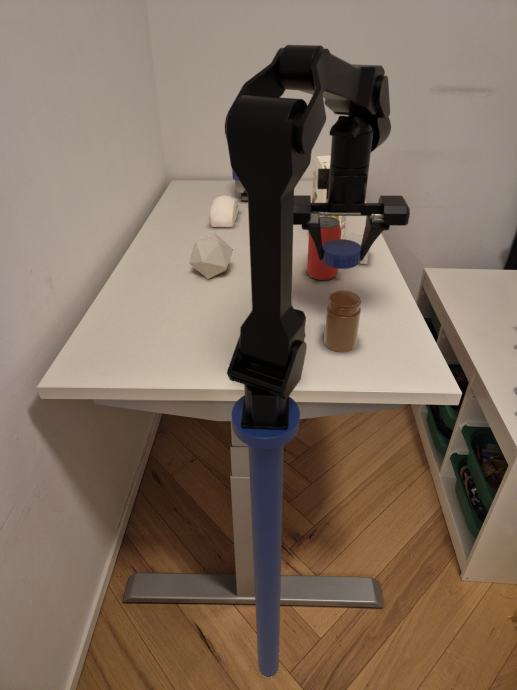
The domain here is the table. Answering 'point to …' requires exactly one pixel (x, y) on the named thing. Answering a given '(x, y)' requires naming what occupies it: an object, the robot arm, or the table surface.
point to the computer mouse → (223, 211)
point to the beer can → (328, 232)
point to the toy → (239, 187)
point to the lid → (341, 253)
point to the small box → (358, 239)
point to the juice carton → (320, 194)
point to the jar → (342, 321)
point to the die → (210, 255)
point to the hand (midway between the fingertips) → (340, 259)
